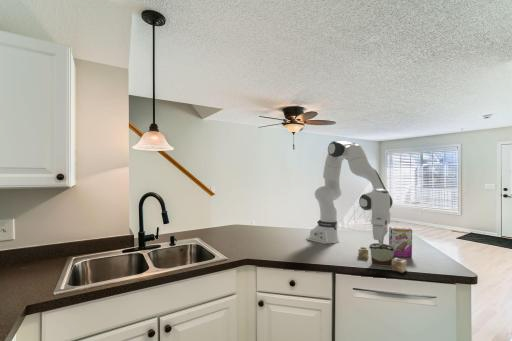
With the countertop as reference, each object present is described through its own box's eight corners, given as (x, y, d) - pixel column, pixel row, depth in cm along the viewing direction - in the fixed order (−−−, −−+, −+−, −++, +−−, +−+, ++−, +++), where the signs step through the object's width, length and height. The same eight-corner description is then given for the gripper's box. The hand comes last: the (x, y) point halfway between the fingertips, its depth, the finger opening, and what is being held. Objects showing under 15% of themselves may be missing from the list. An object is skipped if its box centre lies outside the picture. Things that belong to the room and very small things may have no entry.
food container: (392, 262, 135) (392, 244, 135) (394, 266, 129) (394, 247, 129) (367, 260, 139) (367, 242, 139) (368, 264, 133) (368, 245, 133)
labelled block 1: (358, 257, 143) (358, 248, 143) (359, 255, 147) (359, 246, 147) (368, 259, 141) (368, 249, 141) (368, 256, 145) (368, 247, 145)
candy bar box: (391, 256, 144) (391, 228, 144) (388, 253, 149) (388, 226, 149) (412, 258, 142) (412, 229, 142) (409, 255, 146) (409, 227, 146)
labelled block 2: (391, 269, 126) (391, 259, 126) (395, 267, 129) (395, 256, 129) (402, 272, 122) (402, 262, 122) (406, 270, 125) (406, 259, 125)
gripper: (378, 215, 144) (378, 239, 144) (370, 221, 128) (370, 248, 128) (390, 216, 141) (390, 241, 141) (384, 223, 124) (384, 250, 124)
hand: (380, 244), depth 134 cm, fingers closed, pressing on food container
